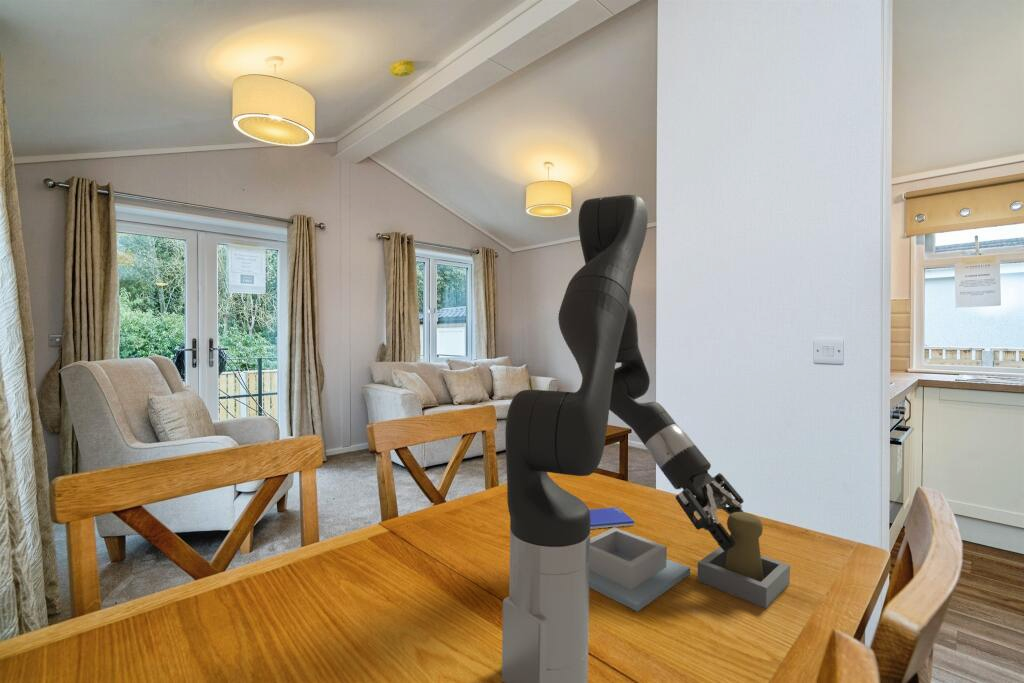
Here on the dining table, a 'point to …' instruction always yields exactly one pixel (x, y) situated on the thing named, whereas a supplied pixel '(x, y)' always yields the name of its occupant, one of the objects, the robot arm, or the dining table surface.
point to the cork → (745, 545)
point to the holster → (744, 578)
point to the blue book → (609, 518)
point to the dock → (631, 568)
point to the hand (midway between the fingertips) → (741, 540)
